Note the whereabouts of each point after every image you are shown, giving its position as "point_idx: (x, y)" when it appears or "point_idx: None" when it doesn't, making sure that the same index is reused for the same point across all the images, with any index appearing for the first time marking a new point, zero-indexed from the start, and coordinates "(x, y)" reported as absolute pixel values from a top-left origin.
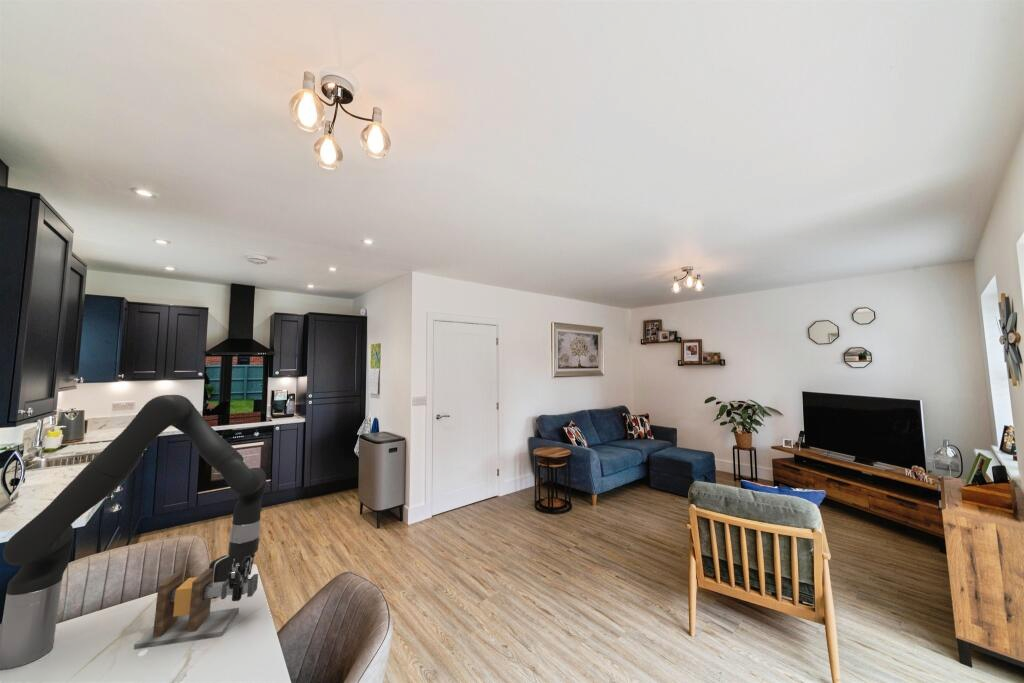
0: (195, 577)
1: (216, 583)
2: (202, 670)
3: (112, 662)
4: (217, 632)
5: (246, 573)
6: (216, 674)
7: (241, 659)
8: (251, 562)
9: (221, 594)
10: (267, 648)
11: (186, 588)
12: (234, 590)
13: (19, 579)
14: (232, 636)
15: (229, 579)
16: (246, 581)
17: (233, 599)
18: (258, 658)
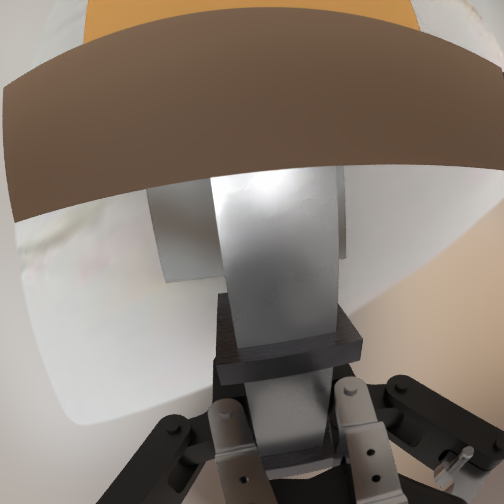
0: None
1: (311, 253)
2: (35, 304)
3: (85, 7)
4: (162, 268)
5: (333, 459)
6: (36, 340)
7: (81, 372)
8: (427, 463)
9: (217, 312)
10: (125, 407)
11: (90, 24)
12: (212, 402)
13: None
14: (167, 313)
15: (109, 494)
16: (284, 442)
17: (215, 359)
18: (93, 399)
